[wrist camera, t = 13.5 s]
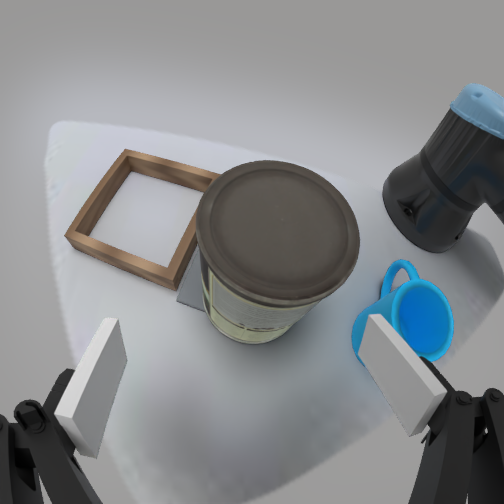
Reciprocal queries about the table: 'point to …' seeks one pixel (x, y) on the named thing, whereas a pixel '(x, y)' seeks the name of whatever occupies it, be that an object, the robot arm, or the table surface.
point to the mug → (411, 314)
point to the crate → (105, 193)
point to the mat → (193, 286)
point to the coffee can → (271, 247)
